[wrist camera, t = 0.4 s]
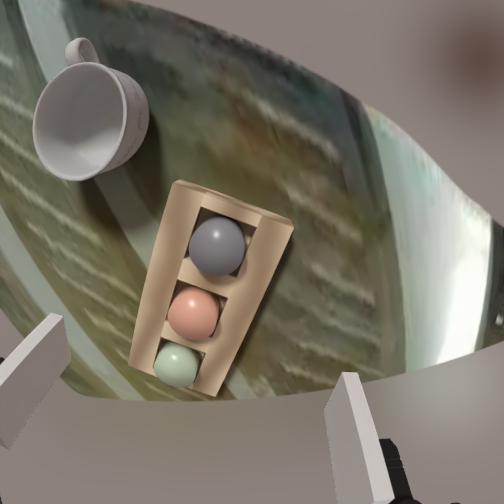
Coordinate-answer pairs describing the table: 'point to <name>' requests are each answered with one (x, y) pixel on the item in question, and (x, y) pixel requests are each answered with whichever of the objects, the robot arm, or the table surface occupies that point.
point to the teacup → (88, 117)
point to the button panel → (206, 280)
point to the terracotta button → (194, 313)
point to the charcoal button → (217, 246)
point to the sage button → (176, 364)
